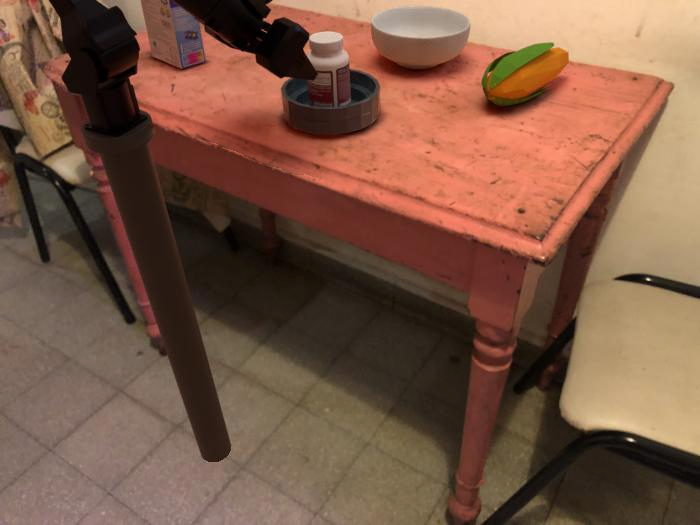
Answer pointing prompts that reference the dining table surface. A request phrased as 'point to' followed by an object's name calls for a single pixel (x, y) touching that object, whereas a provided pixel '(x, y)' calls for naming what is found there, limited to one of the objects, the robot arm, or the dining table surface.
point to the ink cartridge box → (173, 33)
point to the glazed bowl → (332, 118)
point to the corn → (523, 73)
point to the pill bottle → (329, 71)
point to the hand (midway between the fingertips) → (296, 66)
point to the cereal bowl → (420, 35)
